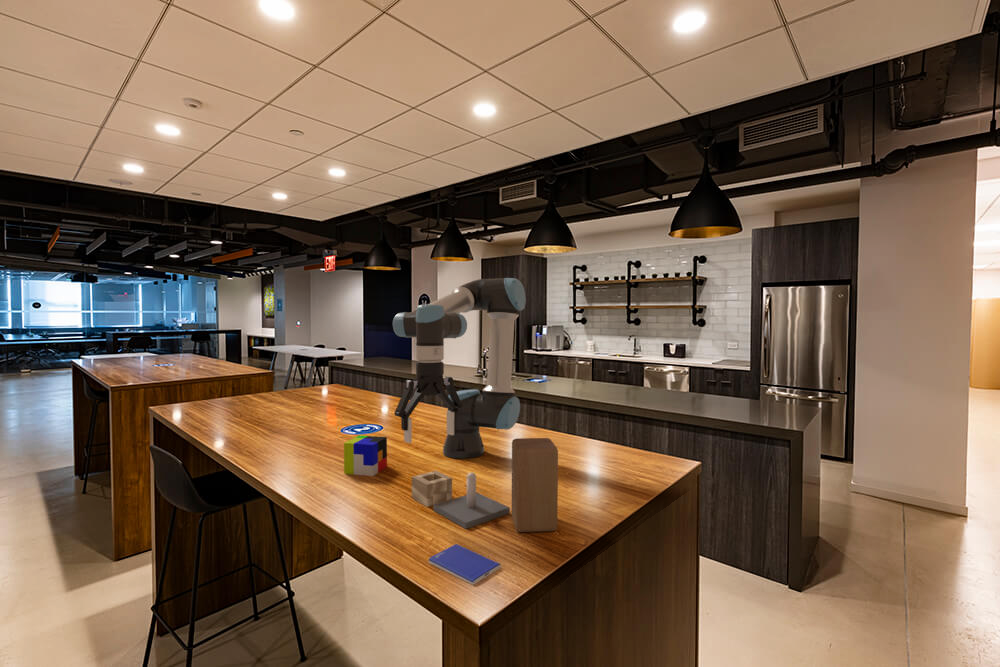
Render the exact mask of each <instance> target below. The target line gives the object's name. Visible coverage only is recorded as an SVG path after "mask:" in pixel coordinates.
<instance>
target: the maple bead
mask: <svg viewBox="0 0 1000 667" xmlns="http://www.w3.org/2000/svg"><path fill="white" fill-rule="evenodd" d="M411 499H412V500H414V501H416V502H418V503H419V504H421V505H423V506H425V507H427V508H429V507H433V505H435V504H438V503H441V502H445V501H448V500H451V499H453V477H452V476H449V475H446V474H444V473H442V472H440V471H437V470H433V471H430V472H425V473H422V474H418V475H415V476H414V475H413V476H411Z"/></svg>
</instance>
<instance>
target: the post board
mask: <svg viewBox="0 0 1000 667" xmlns="http://www.w3.org/2000/svg"><path fill="white" fill-rule="evenodd" d="M432 507H433V511H434V512H435V513H438V515H440V516H442V517H444V518H446V519H448V520H449V521H451V522H453V523H455V524H456V525H458V526H460V527H461V528H463V529H465V530H467V529H470V528H472V527H475V526H478V525H480V524H484V523H486V522H489V521H491V520H494V519H497V518H500V517H503V516H506V515H508V514H510V512H511V511H510V507H509V506H508V505H506V504H503V503H501V502H500V501H497V500H495V499H493V498H491V497H488V496H485V495H484V494H482V493H479V492H477V476H476V474H475V473H474V472H468V473H467V475H466V494H465V495H463V496H462V495H461V496H459V497H455V498H452V499H451V500H448V501H445V502H441V503H438V504H435V505H432Z"/></svg>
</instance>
